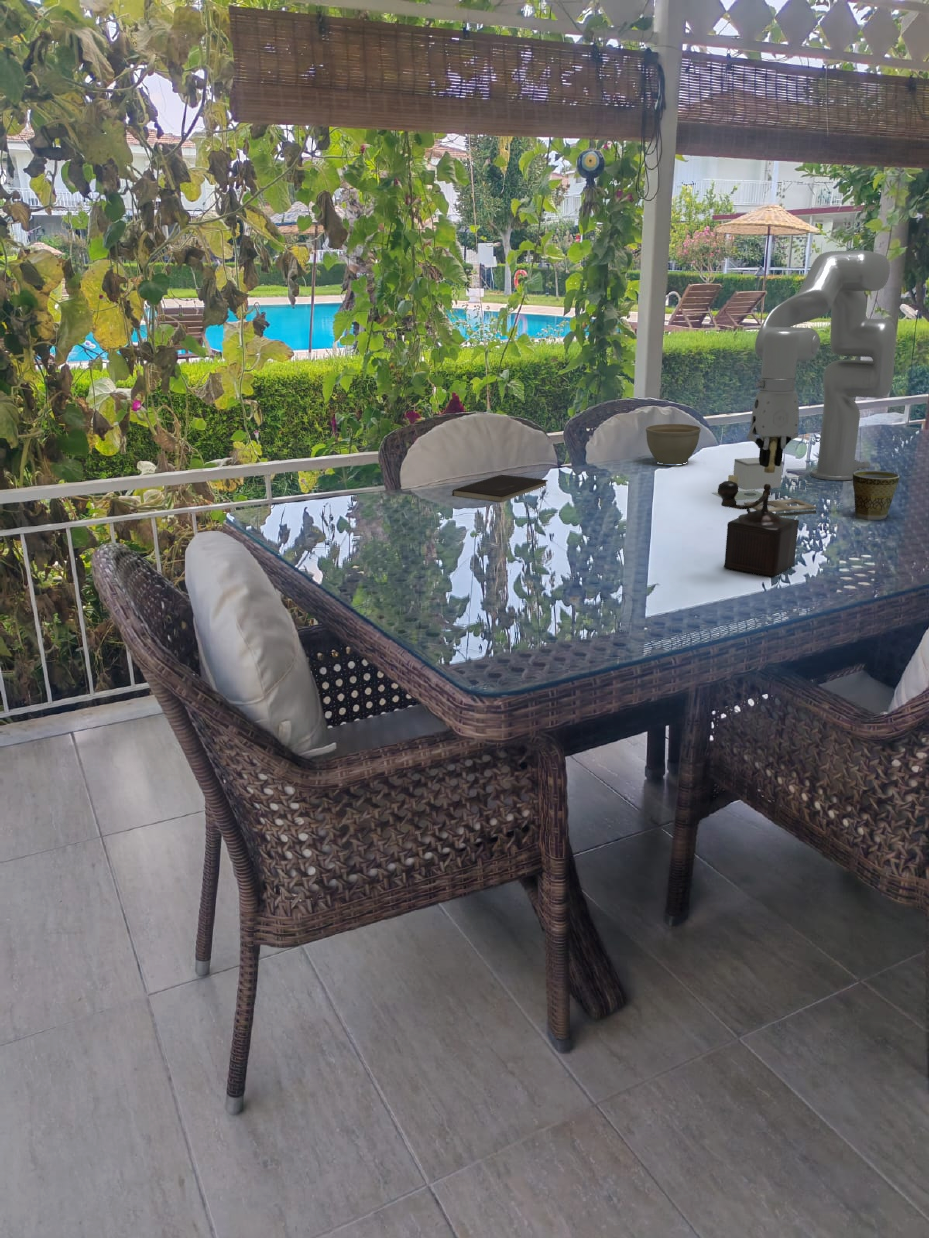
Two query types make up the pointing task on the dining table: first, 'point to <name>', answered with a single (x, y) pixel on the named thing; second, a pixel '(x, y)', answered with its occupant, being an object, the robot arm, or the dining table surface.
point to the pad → (743, 494)
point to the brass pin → (772, 455)
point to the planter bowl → (672, 442)
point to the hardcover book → (500, 488)
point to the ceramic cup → (873, 493)
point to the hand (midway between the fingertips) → (769, 465)
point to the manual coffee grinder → (758, 536)
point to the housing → (756, 474)
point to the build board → (787, 507)
